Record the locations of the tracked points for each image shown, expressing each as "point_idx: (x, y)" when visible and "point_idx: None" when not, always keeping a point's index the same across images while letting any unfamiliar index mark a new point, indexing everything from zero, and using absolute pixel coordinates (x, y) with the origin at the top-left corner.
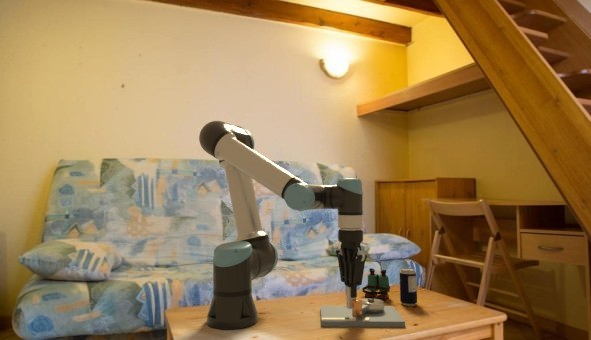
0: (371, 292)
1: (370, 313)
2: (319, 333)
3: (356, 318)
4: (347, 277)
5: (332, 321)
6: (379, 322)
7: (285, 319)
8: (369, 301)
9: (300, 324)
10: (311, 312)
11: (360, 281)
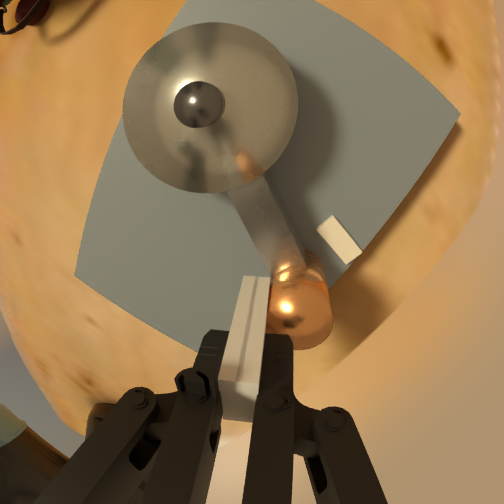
0: (39, 3)
1: None
2: (296, 389)
3: None
4: (211, 469)
5: None
6: (393, 208)
7: (146, 383)
8: (209, 125)
9: None
10: (98, 302)
11: (355, 447)
